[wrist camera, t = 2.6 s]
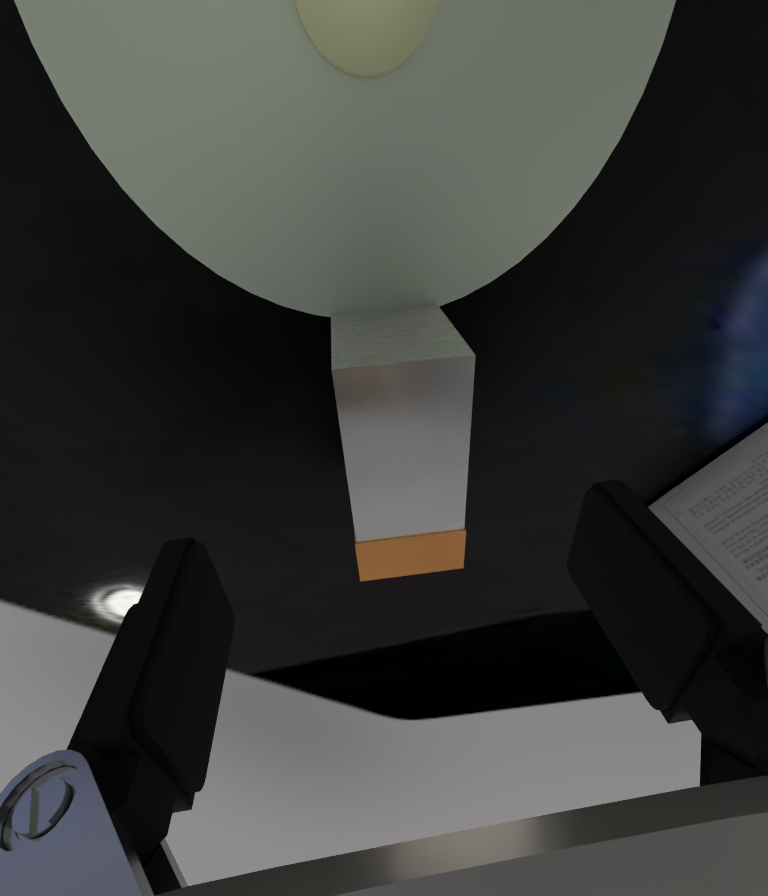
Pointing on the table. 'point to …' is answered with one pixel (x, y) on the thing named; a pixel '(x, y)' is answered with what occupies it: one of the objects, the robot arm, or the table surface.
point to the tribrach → (352, 130)
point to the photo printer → (727, 520)
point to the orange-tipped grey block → (404, 436)
